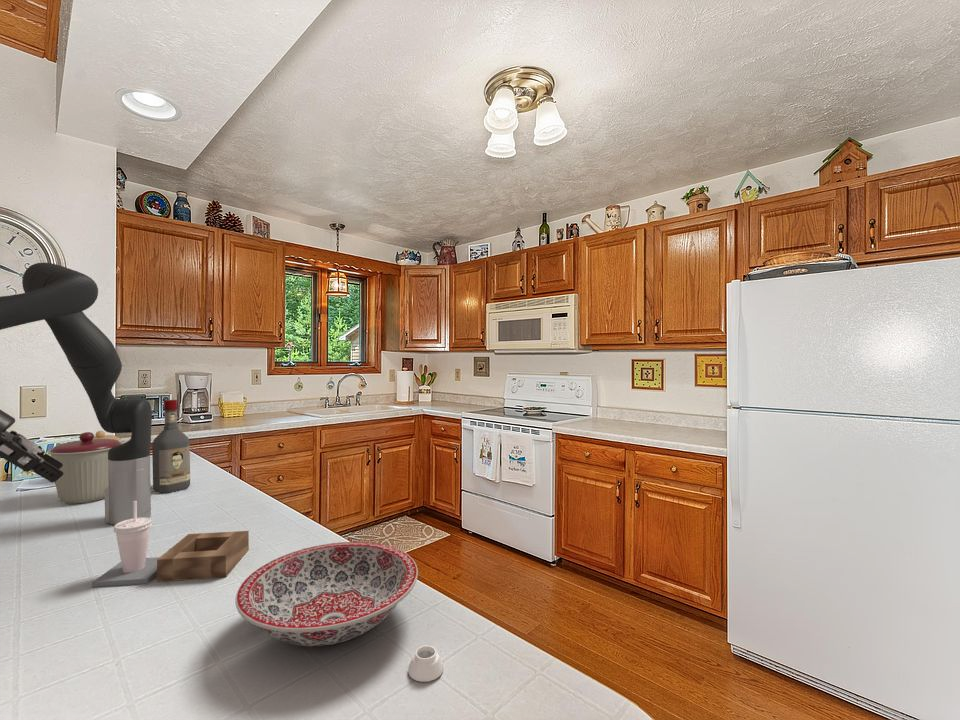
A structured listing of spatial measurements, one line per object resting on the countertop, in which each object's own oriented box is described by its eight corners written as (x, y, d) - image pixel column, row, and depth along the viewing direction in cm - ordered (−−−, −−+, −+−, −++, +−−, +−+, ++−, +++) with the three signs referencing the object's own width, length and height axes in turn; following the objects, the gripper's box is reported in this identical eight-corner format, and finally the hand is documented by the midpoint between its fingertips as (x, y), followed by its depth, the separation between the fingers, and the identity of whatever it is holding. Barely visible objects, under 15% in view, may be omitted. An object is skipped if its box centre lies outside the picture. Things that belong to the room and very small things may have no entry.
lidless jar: (407, 685, 64) (443, 683, 64) (407, 664, 64) (443, 662, 64) (409, 661, 69) (443, 659, 69) (409, 642, 69) (443, 640, 69)
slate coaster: (92, 587, 90) (92, 582, 90) (124, 563, 100) (124, 559, 100) (147, 583, 92) (147, 578, 92) (173, 560, 102) (173, 556, 102)
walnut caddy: (157, 581, 92) (156, 559, 92) (188, 553, 105) (188, 534, 105) (226, 577, 94) (225, 555, 94) (248, 549, 107) (248, 530, 107)
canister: (134, 496, 147) (133, 430, 146) (60, 513, 132) (58, 440, 131) (111, 487, 157) (109, 425, 156) (39, 501, 141) (38, 433, 141)
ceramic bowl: (191, 657, 70) (190, 605, 70) (320, 570, 97) (319, 533, 97) (352, 708, 60) (351, 648, 59) (445, 595, 87) (445, 554, 87)
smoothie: (160, 562, 99) (159, 497, 98) (134, 576, 92) (133, 508, 92) (133, 560, 99) (131, 496, 99) (106, 575, 93) (104, 506, 93)
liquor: (150, 490, 153) (149, 400, 152) (180, 483, 160) (179, 398, 160) (162, 495, 148) (160, 402, 147) (192, 488, 155) (191, 399, 155)
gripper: (-14, 407, 76) (78, 464, 84) (-6, 400, 86) (76, 451, 95) (-63, 443, 73) (39, 499, 81) (-49, 431, 83) (40, 481, 91)
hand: (59, 473), depth 88 cm, fingers open, 8 cm apart
